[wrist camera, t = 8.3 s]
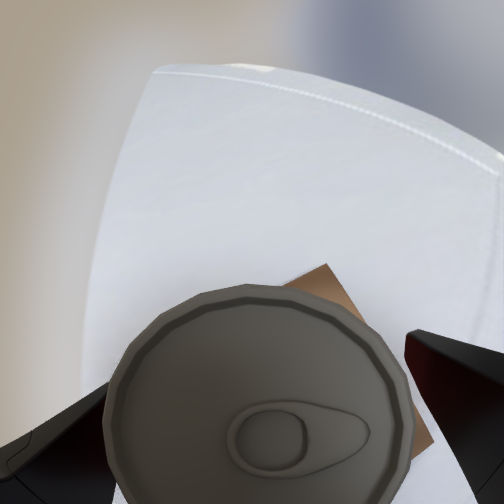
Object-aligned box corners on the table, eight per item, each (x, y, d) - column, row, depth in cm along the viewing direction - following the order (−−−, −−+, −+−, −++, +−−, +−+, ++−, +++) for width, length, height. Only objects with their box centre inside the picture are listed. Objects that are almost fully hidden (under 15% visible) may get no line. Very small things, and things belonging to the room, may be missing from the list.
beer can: (343, 460, 12) (429, 560, 2) (224, 464, 13) (90, 544, 2) (338, 352, 15) (413, 242, 5) (225, 358, 16) (100, 267, 6)
